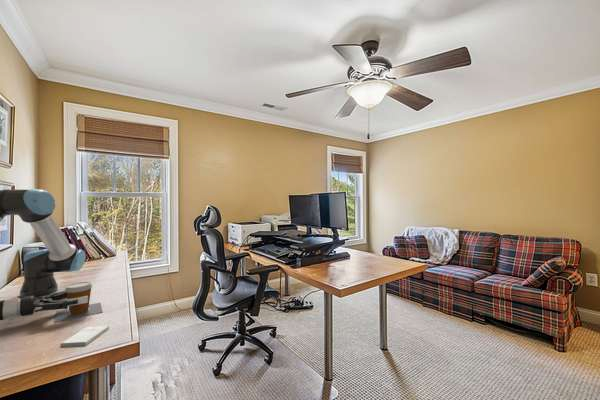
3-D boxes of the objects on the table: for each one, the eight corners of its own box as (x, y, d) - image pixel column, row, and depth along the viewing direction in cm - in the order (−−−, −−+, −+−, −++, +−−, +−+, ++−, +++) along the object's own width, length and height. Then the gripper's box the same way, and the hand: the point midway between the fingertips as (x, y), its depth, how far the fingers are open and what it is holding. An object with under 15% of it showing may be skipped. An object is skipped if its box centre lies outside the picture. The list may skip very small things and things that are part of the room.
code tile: (56, 311, 122) (56, 311, 122) (100, 302, 132) (100, 302, 132) (53, 322, 110) (53, 322, 110) (102, 312, 120) (102, 311, 120)
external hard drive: (60, 348, 92) (86, 330, 104) (86, 346, 92) (109, 329, 105) (60, 343, 92) (86, 326, 104) (86, 341, 92) (109, 325, 105)
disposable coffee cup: (97, 308, 123) (97, 282, 124) (74, 317, 114) (74, 288, 115) (83, 306, 127) (83, 280, 127) (59, 314, 118) (59, 286, 118)
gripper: (25, 307, 119) (87, 296, 132) (14, 327, 99) (88, 311, 113) (25, 290, 119) (87, 280, 132) (14, 306, 99) (88, 293, 113)
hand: (87, 295), depth 122 cm, fingers open, 13 cm apart
